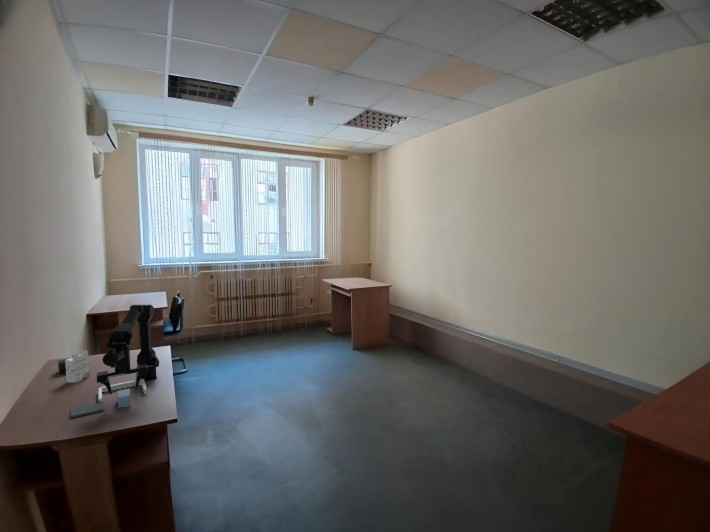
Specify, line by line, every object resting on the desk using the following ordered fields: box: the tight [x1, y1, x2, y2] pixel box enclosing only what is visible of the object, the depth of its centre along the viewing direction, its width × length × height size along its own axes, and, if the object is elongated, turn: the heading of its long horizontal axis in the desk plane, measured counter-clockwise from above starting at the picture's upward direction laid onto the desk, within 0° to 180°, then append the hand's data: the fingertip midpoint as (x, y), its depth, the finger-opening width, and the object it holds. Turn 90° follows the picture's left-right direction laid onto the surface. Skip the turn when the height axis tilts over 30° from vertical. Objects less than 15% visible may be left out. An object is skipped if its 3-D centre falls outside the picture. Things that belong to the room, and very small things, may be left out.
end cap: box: [57, 358, 67, 374], centre depth 191 cm, size 10×7×7 cm
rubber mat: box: [70, 401, 105, 420], centre depth 149 cm, size 11×8×1 cm
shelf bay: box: [98, 379, 148, 403], centre depth 166 cm, size 18×14×2 cm
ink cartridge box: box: [65, 349, 91, 384], centre depth 180 cm, size 9×5×15 cm, turn 168°
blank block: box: [116, 388, 132, 409], centre depth 156 cm, size 4×8×5 cm, turn 36°
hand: (123, 391), depth 156 cm, fingers open, 9 cm apart
